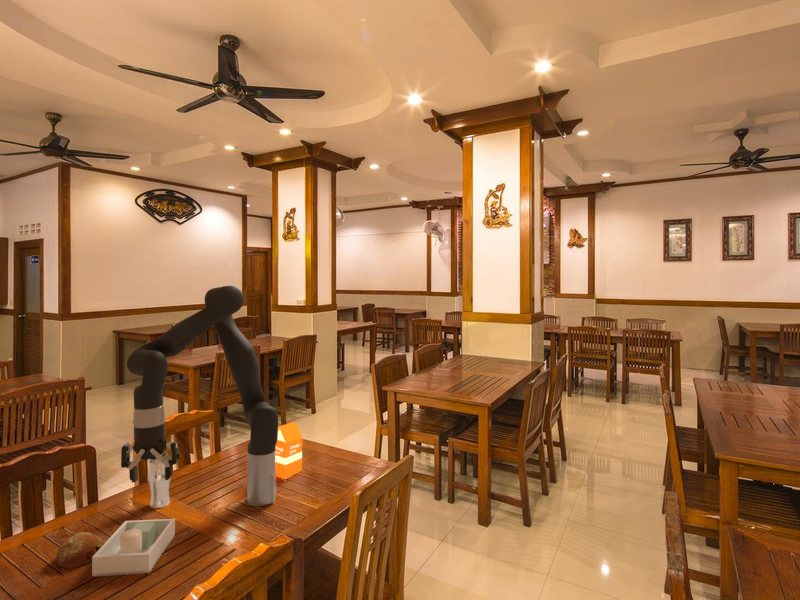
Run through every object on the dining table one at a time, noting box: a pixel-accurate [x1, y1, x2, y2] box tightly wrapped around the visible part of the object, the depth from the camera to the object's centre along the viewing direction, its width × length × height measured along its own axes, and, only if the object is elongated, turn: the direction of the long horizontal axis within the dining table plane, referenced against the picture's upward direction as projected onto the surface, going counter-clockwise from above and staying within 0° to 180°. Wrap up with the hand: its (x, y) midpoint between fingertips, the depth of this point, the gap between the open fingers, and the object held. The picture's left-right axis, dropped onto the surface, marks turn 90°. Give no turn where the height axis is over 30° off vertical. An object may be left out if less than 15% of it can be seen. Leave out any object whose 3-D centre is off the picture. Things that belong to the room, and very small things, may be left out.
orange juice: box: [275, 421, 303, 480], centre depth 177 cm, size 8×9×20 cm
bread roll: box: [55, 531, 106, 569], centre depth 122 cm, size 10×10×8 cm
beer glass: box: [147, 459, 172, 509], centre depth 152 cm, size 7×7×15 cm
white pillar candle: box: [120, 529, 142, 554], centre depth 120 cm, size 5×5×7 cm
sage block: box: [133, 522, 156, 550], centre depth 127 cm, size 5×5×5 cm
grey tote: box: [91, 518, 176, 577], centre depth 124 cm, size 14×18×5 cm
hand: (151, 480), depth 125 cm, fingers open, 8 cm apart
